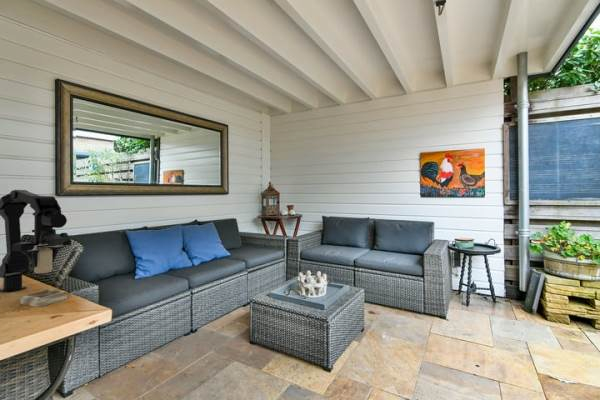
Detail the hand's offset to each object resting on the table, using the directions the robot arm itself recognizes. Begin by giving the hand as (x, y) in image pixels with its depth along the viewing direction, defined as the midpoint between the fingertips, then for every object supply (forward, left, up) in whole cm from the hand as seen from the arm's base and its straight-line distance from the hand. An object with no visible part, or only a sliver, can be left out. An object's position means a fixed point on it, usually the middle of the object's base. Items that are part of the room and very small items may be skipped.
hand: (43, 265), depth 122 cm
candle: (0, 0, -3) cm, 3 cm away
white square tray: (+5, -3, -13) cm, 14 cm away
